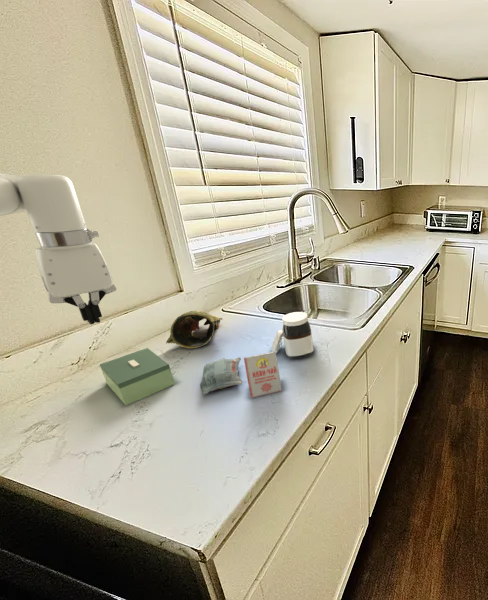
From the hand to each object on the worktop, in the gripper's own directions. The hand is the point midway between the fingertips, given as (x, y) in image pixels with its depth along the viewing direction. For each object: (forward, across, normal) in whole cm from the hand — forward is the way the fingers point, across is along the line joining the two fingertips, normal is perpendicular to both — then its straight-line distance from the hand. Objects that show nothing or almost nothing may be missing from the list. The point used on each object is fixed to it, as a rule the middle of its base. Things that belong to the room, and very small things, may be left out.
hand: (93, 321), depth 72 cm
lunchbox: (+16, +1, +1) cm, 16 cm away
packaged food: (+18, -17, +17) cm, 31 cm away
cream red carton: (+18, -21, +29) cm, 40 cm away
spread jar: (+18, -36, +19) cm, 45 cm away
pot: (+18, -24, -11) cm, 32 cm away
